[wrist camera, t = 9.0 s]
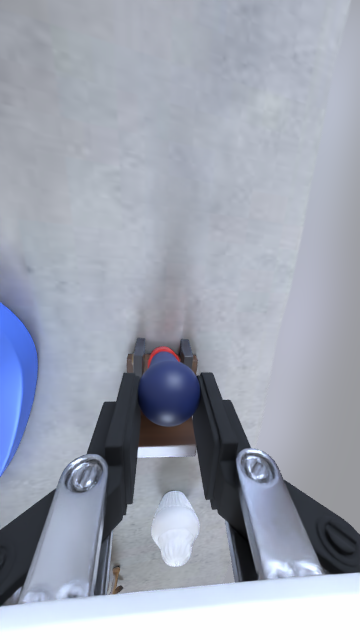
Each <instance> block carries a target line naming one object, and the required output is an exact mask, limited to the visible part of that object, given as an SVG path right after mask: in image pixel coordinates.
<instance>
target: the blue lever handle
mask: <svg viewBox="0 0 360 640" xmlns="http://www.w3.org/2000/svg"><path fill="white" fill-rule="evenodd" d="M200 395H201V393H200V384H199V381H198V379H197V377H196V375H195V373H194V372H193V371H192V370H191V369H190V368H189V367H188V366H186V365H185V364H183V363H181V362H180V361H179V358H178V356H177V355H176V354H175V353H174V351H173V350H172V349H170V348H168V347H165V346H161V347H158V348H156V349H154V350H153V351H152V353H151V355H150V357H149V360H148V369H147V370H146V371H145V373H144V374H143V376H142V377H141V379H140V382H139V385H138V403H139V406H140V408H141V411H142V412H143V414H144V415H145V416H146V417H147V418H148V419H149V420H150V421H152V422H153V423H155V424H157V425H160V426H165V427H172V426H177V425H180V424H182V423H184V422H185V421H187V420H188V419H189V418H190V417H191V416H192V415H193V414H194V413H195V411H196V409H197V407H198V405H199V402H200Z"/></svg>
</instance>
